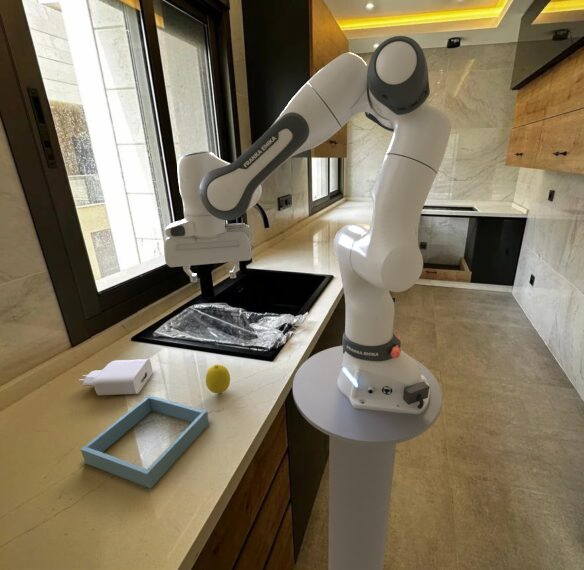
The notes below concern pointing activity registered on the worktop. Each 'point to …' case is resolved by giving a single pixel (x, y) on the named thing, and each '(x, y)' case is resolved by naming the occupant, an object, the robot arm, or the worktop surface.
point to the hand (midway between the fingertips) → (214, 279)
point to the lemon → (217, 379)
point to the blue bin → (127, 421)
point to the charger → (120, 377)
